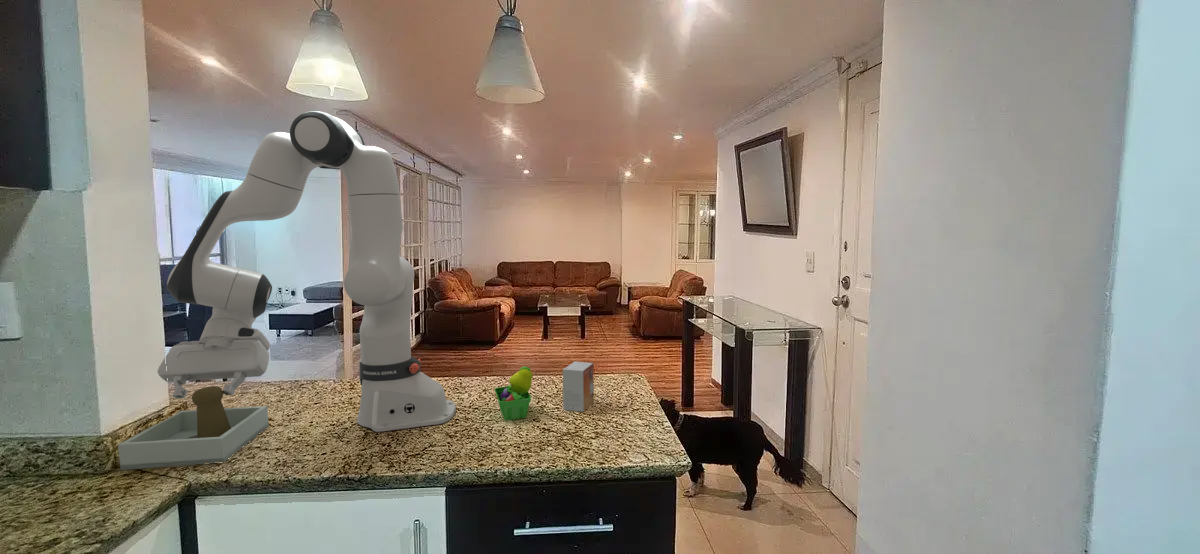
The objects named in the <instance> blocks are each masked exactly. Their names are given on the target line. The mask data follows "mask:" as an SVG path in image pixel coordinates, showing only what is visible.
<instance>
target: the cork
mask: <svg viewBox="0 0 1200 554" xmlns="http://www.w3.org/2000/svg"><path fill="white" fill-rule="evenodd" d="M223 397H224V394H223V389H222V388H221V387H220V386H207V387H203V388H199V389H197V390H195V391H194V392H193V393H192V396H191V400H192V403H193V404H194V405H195V406H196V410H197V438H207V437H220V436H221V435H223V434H224V433H225V432H227V431H228V430H230V429H231V427H230V424H229V422H228V419H227V416H226V413H225V410H224V408H225V407H224V405H223V402H222V399H223Z"/></svg>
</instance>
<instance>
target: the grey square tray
mask: <svg viewBox="0 0 1200 554" xmlns="http://www.w3.org/2000/svg"><path fill="white" fill-rule="evenodd" d="M223 408H224V410H225V413H226V416H227V419H228V422H229V424H230V427H231V429H230V430H228V431H227V432H225V433H224V434H223V435H221V436H220V437H207V438H197V409H187V410H179V411H180V412H179V411H177V412H178V413H177V412H176V413H177V414H175V413H174V414H175V415H173V414H172V415H173V416H172V417H170V416H168V417H169V418H168V417H167V418H168V419H166V418H165V419H166V420H164V419H163V420H164V421H162V420H161V421H162V422H160V421H159V422H160V423H159V422H157V423H158V424H157V423H155V424H153V425H151V426H150V427H147V428H145V429H144V430H142V431H140V432H139V433H137V434H135V435H133V436H132V437H129V438H128V439H127V440H124V441H123V442H121V443H120V442H119V444H117V449H118V457H119V459H118V460H119V468H120V471H125V470H139V469H141V470H142V469H143V470H144V469H157V468H168V467H169V468H170V467H171V466H173V467H185V465H188V466H196V465H195V464H203V465H206V464H205V463H215V462H225V461H226V460H227V459H228V458H230V457H231V456H232V455H233V454H235V453H236V452H237V451H238V450H240V449H241V448H242V447H243V446H245V445H246V444H247V443H248V442H249V441H251V440H252V439H253V438H255V437H256V436H257V435H258V434H259V433H261V432H262V431H263V430H265V429H266V428H267V427H268V426H269V427H270V425H269V423H270V422H269V411H268V405H261V406H246V407H245V406H244V407H241V406H240V407H226V408H225V407H223ZM269 427H268V428H269ZM268 428H267V429H268ZM267 429H266V430H267ZM266 430H265V431H266ZM263 432H264V431H263ZM263 432H262V433H263ZM262 433H261V434H262ZM258 436H259V435H258ZM258 436H257V437H258ZM257 437H256V438H257ZM256 438H255V439H256ZM253 440H254V439H253ZM253 440H252V441H253ZM252 441H251V442H252ZM248 444H249V443H248ZM248 444H247V445H248ZM247 445H246V446H247ZM246 446H245V447H246ZM243 448H244V447H243ZM243 448H242V449H243ZM242 449H241V450H242ZM241 450H240V451H241ZM237 453H238V452H237ZM237 453H236V454H237ZM236 454H235V455H236ZM232 457H233V456H232ZM232 457H231V458H232ZM231 458H230V459H231ZM227 461H228V460H227ZM227 461H226V462H227ZM226 462H225V463H226ZM183 465H184V466H183Z"/></svg>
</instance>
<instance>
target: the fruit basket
mask: <svg viewBox="0 0 1200 554" xmlns="http://www.w3.org/2000/svg"><path fill="white" fill-rule="evenodd" d="M532 379H533V372H532V371H531V368H529V367H528V366H522V367H521V368H519V370H518V371H517V372H516V373H514V374H513V375H510V378H509V381H508V383H509V385H506V386H499V387H495V388H494V393H495V395H496V398H497V402H498V406H499V409H500V411H501V413H502V417H503V419H504V421H509V420H519V419H526V418H527V415H528V410H529V407H530V403H531V400H532V396H531V395H530V393H529V391H530V389H531V388H532Z"/></svg>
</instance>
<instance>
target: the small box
mask: <svg viewBox="0 0 1200 554" xmlns="http://www.w3.org/2000/svg"><path fill="white" fill-rule="evenodd" d="M594 371H595V370H594V363H593V362H586V361H573V362H572V363H571V364H569V365H567V366H566V367H564V368H563V369H562V405H563V406H562V407H563V409H562V410H564V411H572V412H573V411H574V412H581V413H582V412H585V411H586V410H587V409H588V408H589V407H590V406H591V405H592V404H593V403H594V402H595V400H594V398H595V396H594V387H595V385H594V382H595V381H594V380H595V379H594V378H595V377H594V375H595V374H594V373H595V372H594Z"/></svg>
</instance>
